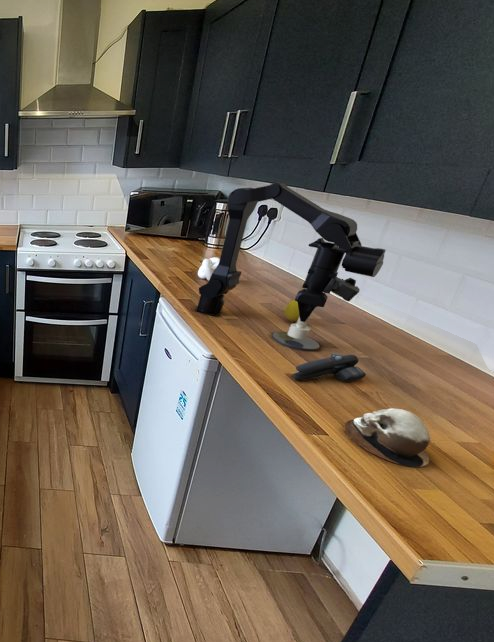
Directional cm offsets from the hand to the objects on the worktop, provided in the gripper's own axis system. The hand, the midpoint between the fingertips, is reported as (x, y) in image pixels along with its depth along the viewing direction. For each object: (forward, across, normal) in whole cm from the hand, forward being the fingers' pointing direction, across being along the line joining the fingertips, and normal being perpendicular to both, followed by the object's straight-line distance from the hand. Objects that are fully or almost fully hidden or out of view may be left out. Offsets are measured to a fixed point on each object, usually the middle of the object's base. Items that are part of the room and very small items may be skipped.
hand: (303, 320), depth 112 cm
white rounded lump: (+2, +47, +35) cm, 59 cm away
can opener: (+7, -19, -8) cm, 22 cm away
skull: (+7, -41, -19) cm, 46 cm away
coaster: (+7, 0, 0) cm, 7 cm away
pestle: (+5, 0, 0) cm, 5 cm away
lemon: (+7, +17, +3) cm, 19 cm away
